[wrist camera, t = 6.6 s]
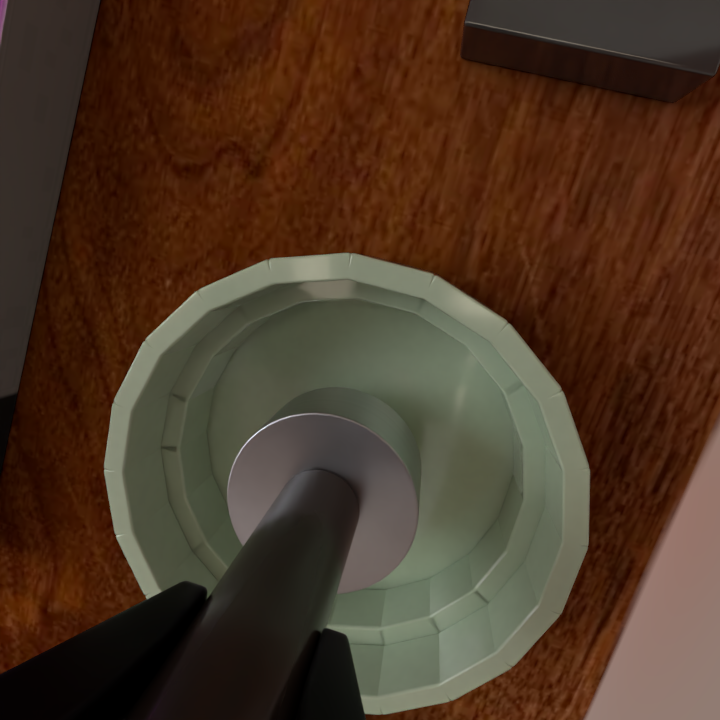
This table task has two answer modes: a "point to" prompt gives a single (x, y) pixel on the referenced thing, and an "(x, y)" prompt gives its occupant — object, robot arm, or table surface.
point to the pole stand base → (601, 42)
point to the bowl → (429, 427)
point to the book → (33, 158)
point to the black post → (293, 555)
